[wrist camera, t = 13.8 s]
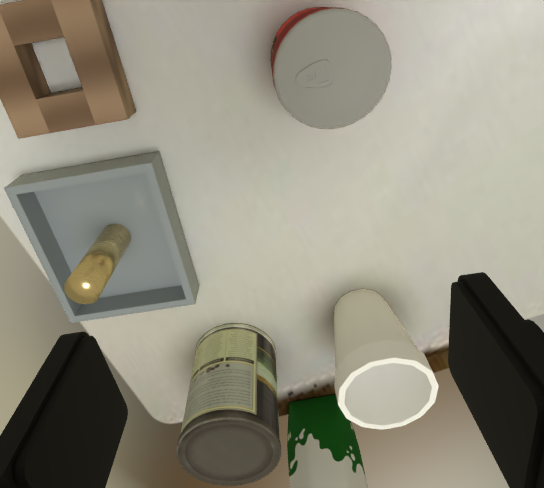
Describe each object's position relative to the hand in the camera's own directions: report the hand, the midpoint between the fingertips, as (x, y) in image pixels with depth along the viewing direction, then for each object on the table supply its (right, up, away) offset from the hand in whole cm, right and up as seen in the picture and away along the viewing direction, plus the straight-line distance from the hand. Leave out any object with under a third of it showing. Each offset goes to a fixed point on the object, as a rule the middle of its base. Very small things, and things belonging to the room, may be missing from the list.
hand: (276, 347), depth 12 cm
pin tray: (-17, +4, +35) cm, 39 cm away
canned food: (+4, +19, +28) cm, 34 cm away
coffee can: (-5, -11, +44) cm, 46 cm away
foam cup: (+10, -5, +41) cm, 43 cm away
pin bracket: (-18, +19, +27) cm, 38 cm away
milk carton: (+6, -21, +50) cm, 54 cm away
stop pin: (-16, +3, +35) cm, 39 cm away
